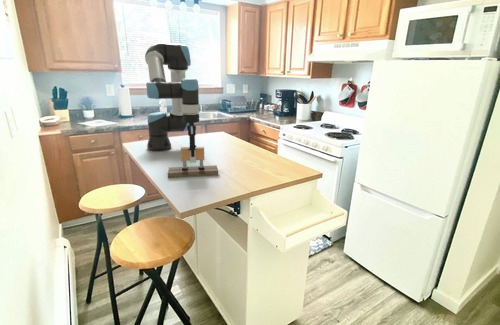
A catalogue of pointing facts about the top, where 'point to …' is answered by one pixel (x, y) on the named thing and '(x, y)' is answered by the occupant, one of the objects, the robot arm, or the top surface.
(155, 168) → the top surface
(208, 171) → the rail
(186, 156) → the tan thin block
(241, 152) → the top surface
